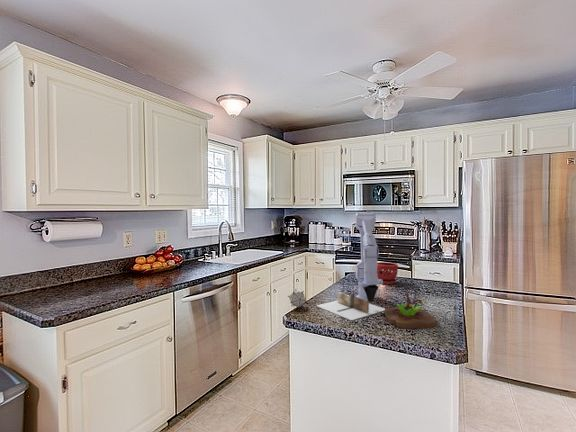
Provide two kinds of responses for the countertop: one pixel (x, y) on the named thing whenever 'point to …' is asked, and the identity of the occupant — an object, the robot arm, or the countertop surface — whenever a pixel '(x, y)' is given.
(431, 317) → the plant
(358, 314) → the card
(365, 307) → the brown wooden board
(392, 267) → the plant pot
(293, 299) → the game die
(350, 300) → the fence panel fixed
